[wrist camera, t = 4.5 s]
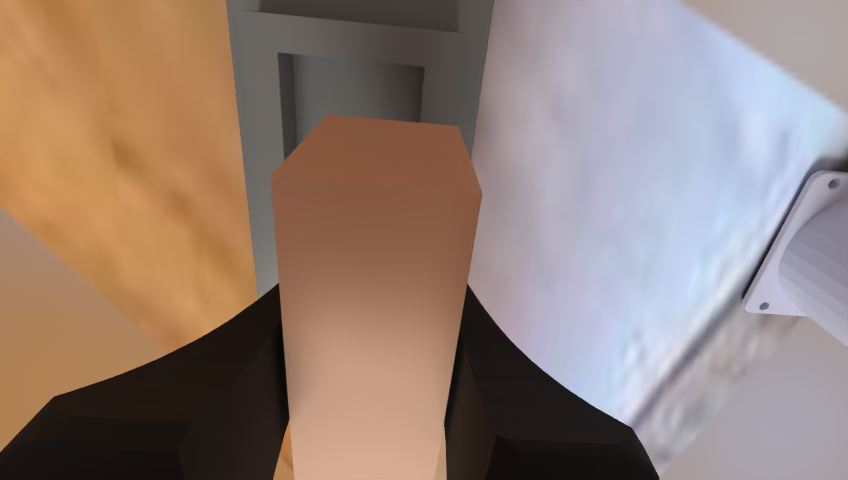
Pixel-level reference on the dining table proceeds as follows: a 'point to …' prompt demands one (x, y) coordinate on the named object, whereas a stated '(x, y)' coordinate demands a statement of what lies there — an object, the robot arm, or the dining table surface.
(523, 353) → the robot arm
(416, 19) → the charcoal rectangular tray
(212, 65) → the dining table surface
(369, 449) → the terracotta bar
